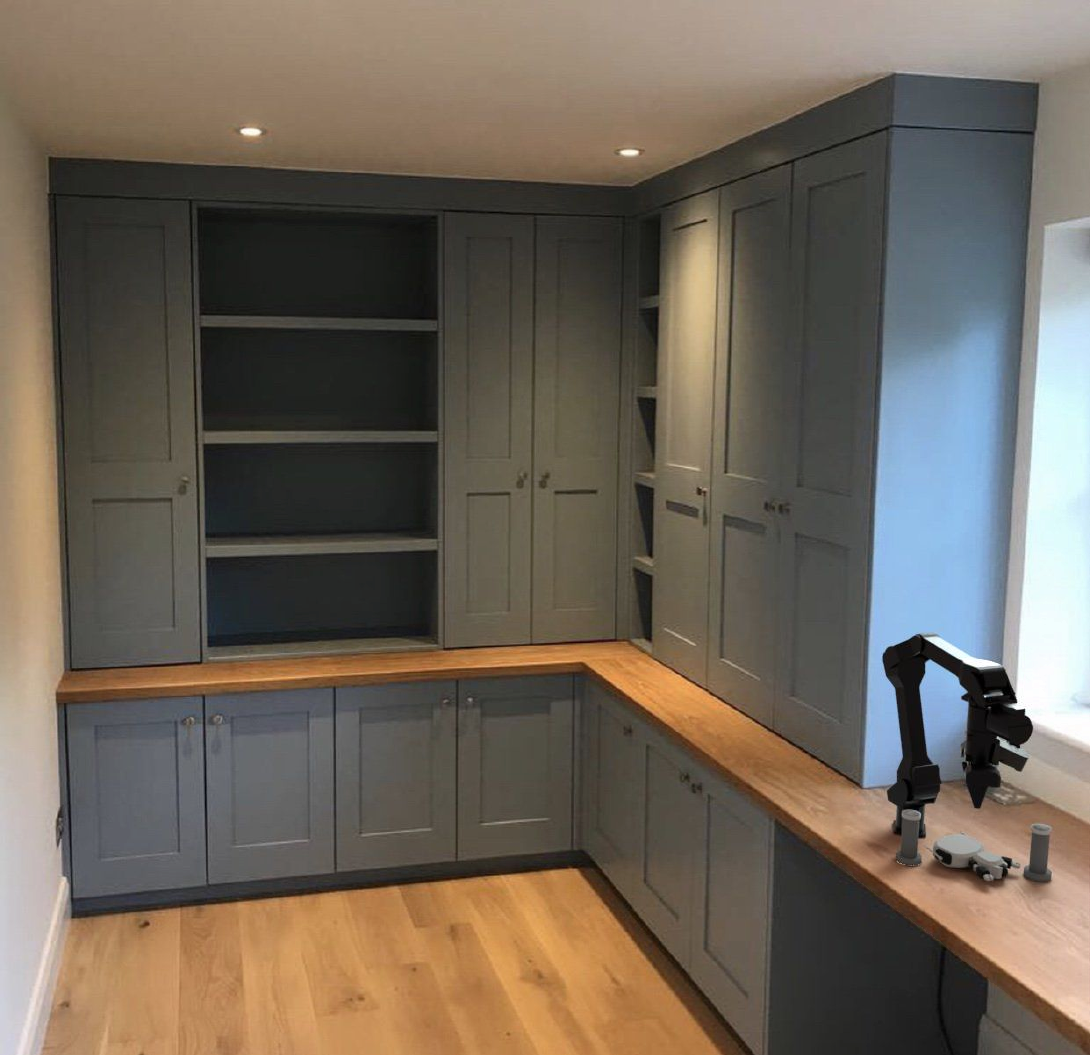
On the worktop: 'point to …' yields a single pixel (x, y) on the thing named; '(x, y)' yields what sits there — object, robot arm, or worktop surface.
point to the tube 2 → (1039, 854)
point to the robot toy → (971, 856)
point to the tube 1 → (909, 839)
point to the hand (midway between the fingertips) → (976, 805)
